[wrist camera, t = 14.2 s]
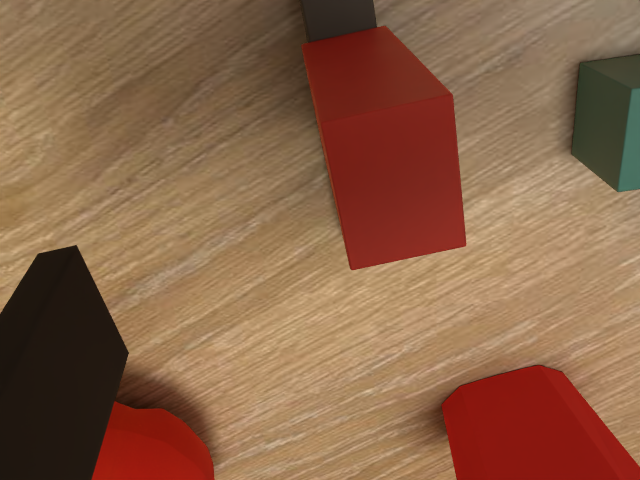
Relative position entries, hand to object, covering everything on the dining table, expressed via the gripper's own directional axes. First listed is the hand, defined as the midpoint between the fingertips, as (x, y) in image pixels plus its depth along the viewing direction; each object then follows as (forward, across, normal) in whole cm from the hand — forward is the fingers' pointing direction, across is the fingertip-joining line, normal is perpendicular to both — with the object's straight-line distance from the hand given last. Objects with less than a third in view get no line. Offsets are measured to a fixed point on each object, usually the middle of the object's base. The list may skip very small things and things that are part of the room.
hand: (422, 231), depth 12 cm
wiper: (+14, 0, 0) cm, 14 cm away
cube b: (+14, +11, -4) cm, 18 cm away
